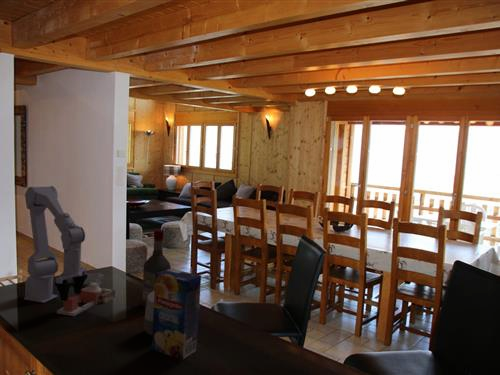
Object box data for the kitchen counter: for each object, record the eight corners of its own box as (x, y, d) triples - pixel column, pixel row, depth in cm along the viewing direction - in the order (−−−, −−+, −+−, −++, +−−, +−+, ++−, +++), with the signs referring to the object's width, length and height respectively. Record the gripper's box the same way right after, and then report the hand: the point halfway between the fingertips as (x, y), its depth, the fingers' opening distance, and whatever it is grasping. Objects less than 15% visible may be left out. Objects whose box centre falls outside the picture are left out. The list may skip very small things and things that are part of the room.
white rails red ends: (55, 312, 155) (56, 298, 154) (79, 300, 168) (80, 287, 168) (74, 316, 153) (75, 301, 152) (97, 303, 166) (98, 290, 166)
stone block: (96, 292, 184) (106, 280, 194) (95, 282, 183) (105, 271, 192) (70, 290, 185) (80, 279, 195) (69, 280, 184) (79, 270, 193)
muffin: (92, 303, 166) (92, 285, 166) (81, 299, 169) (81, 282, 168) (104, 299, 172) (105, 282, 171) (93, 295, 175) (94, 278, 174)
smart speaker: (138, 335, 142) (139, 294, 140) (154, 325, 150) (155, 286, 149) (162, 341, 138) (164, 299, 137) (177, 330, 147) (179, 291, 145)
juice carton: (197, 350, 134) (201, 275, 131) (182, 360, 127) (186, 281, 125) (167, 340, 139) (170, 268, 137) (151, 348, 133) (155, 273, 130)
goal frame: (77, 298, 170) (77, 291, 170) (88, 292, 177) (88, 285, 177) (105, 303, 167) (105, 295, 167) (114, 297, 174) (115, 290, 174)
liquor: (156, 311, 162) (159, 234, 159) (138, 306, 167) (141, 230, 164) (171, 305, 170) (175, 230, 167) (154, 299, 174) (158, 227, 172)
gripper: (68, 267, 147) (67, 305, 148) (93, 257, 161) (92, 292, 162) (51, 264, 149) (50, 302, 150) (77, 255, 163) (76, 289, 164)
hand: (70, 296), depth 156 cm, fingers open, 7 cm apart
